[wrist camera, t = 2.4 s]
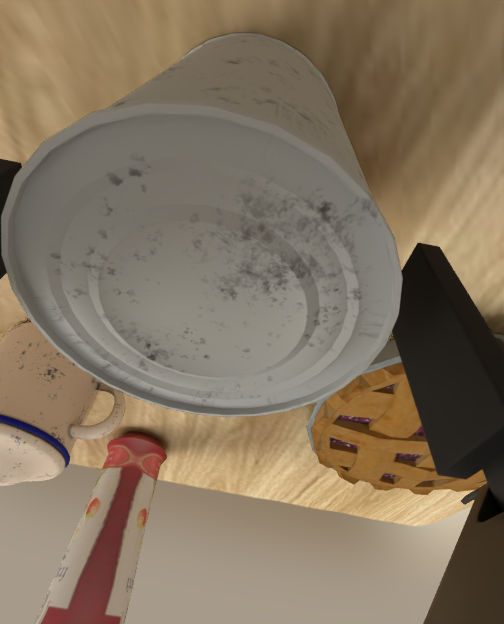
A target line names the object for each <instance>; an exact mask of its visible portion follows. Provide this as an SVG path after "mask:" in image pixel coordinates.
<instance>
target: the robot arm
mask: <svg viewBox="0 0 504 624" xmlns="http://www.w3.org/2000/svg"><path fill="white" fill-rule="evenodd" d="M21 168H22V165H21V163H18V162H13V161H8V160H3V159H0V279H1V278H2V277H3V276H4V275H5V274H6V273H7V271H6V267H5V264H4V261H3V258H2V250H1V216H2V212H3V209H4V207H5V204H6V201H7V198H8V195H9V192H10V189H11V186H12V183H13V180H14V177H15V175H16V174H17V173H18V172H19V171H20V169H21ZM401 272H402V277H403V280H402V289H401V299H400V308H399V315H398V317H397V320H396V322H395V324H394V327H393V329H392V332H393V336H394V339H395V342H396V345H397V348H398V351H399V354H400V358H401V361H402V364H403V367H404V370H405V373H406V377H407V380H408V383H409V386H410V389H411V392H412V396H413V399H414V402H415V405H416V408H417V411H418V415H419V418H420V421H421V424H422V427H423V430H424V434H425V437H426V440H427V443H428V446H429V449H430V453H431V456H432V459H433V462H434V465H435V468H436V471H437V475H439V476H446V477H452V478H459V479H465V480H467V479H468V478H470V477H471V476H473V475H474V474H476V473H477V472H479V471H480V470H483V472H484V475H485V477H486V480H487V482H488V483H486V484H484V485H483V486H481V487H479V488H478V489H476V490H474V491H473V492H471V493H470V494H468V495H466V496H465V497H464V498H463V499H462V500H461V502H462V503H463V504H467V503H469V502H470V501H472V500H475V501H474V503H473V506H472V508H471V510H470V513H469V515H468V518H467V520H466V522H465V525H464V527H463V530H462V532H461V535H460V537H459V539H458V542H457V544H456V546H455V549H454V551H453V554H452V556H451V559H450V561H449V564H448V566H447V568H446V571H445V573H444V576H443V578H442V580H441V583H440V585H439V587H438V590H437V593H436V595H435V597H434V599H433V602H432V604H431V607H430V609H429V611H428V614H427V617H426V619H425V621H424V624H504V341H503V340H502V339H500V338H496V337H494V335H493V333H492V332H491V330H490V328H489V327H488V325H487V324H486V322H485V320H484V319H483V317H482V315H481V314H480V312H479V311H478V309H477V307H476V306H475V304H474V302H473V301H472V299H471V297H470V296H469V294H468V293H467V291H466V289H465V288H464V286H463V284H462V283H461V281H460V280H459V278H458V276H457V275H456V273H455V271H454V270H453V268H452V266H451V265H450V263H449V262H448V260H447V258H446V257H445V255H444V253H443V252H442V250H441V249H440V247H438V246H433V245H428V244H423V243H418V244H417V245H416V247H415V249H414V250H413V252H412V254H411V256H410V257H409V259H408V261H407V262H406V264H405V266H404V268H403V269H402V271H401Z"/></svg>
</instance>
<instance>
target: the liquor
mask: <svg viewBox="0 0 504 624" xmlns="http://www.w3.org/2000/svg"><path fill="white" fill-rule="evenodd" d="M107 447H108V456H107V458H106V461H105V463H104V466H103V468H102V471H101V473H100V475H99V478H98V480H97V483H96V485H95V487H94V490H93V492H92V495H91V497H90V499H89V501H88V504H87V506H86V508H85V511H84V513H83V515H82V517H81V520H80V522H79V524H78V527H77V529H76V531H75V533H74V536H73V538H72V540H71V542H70V545H69V547H68V549H67V551H66V553H65V555H64V558H63V560H62V562H61V564H60V566H59V569H58V571H57V573H56V575H55V577H54V579H53V581H52V584H51V586H50V588H49V591H48V593H47V595H46V598H45V600H44V602H43V605H42V607H41V609H40V612H39V614H38V616H37V619H36V621H35V623H34V624H124V622H125V618H126V614H127V610H128V605H129V601H130V596H131V592H132V588H133V583H134V578H135V573H136V569H137V564H138V559H139V554H140V549H141V545H142V540H143V536H144V531H145V527H146V523H147V518H148V514H149V510H150V506H151V501H152V497H153V493H154V490H155V485H156V481H157V477H158V473H159V469H160V465H161V464H162V463H163V462H164V461H165V460H166V458H167V454H166V453H165V451H164V450H163V448H162V446H161V445H160V443H159V442H158V441H157V440H156V439H155V438H154V437H152V436H150V435H147V434H143V433H138V432H130V433H126V434H124V435H122V436H120V437H118V438H115V439H113V440H111V441H110V442H109V443H108V446H107Z"/></svg>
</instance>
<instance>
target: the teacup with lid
mask: <svg viewBox="0 0 504 624" xmlns="http://www.w3.org/2000/svg"><path fill="white" fill-rule="evenodd" d="M99 390H101V391H106V392H109V393H111V394H113V395H114V397H115V403H114V407H113V410H112V412H111V414H110V415H109V417H108V418H107V419H105V420H104V421H102V422H100V423H98V424H96V425H91V426H83V424H84V422H85V420H86V418H87V416H88V414H89V412H90V409H91V407H92V405H93V403H94V401H95V399H96V397H97V395H98V392H99ZM124 412H125V398H124V395H123V392H121V391H119V390H116V389H114V388H112V387H110V386H108V385H106V384H104V383H103V382H101V381H100V380H98V379H96V378H95V377H93V376H91V375H90V374H88V373H87V372H85V371H83V370H82V369H80V368H79V367H77V366H76V365H75V364H74V363H73V362H71V361H70V360H69V359H68V358H67V357H65V356H64V355H63V354H62V353H61V352H59V351H58V350H57V349H56V348H55V347H53V346H52V344H51V343H50V342H49V341H48V340H47V339H46V338H45V336H44V335H43V334H42V333H41V332H40V331H39V330H38V328H37V327H36V326H35V325H34V324H33V323H32V322H28V323H23V324H20V325H17V326H15V327H14V328H12V329H11V330H10V331H9V332H8V333H7V334H6V335H5V337H4V338H3V339H2V340H1V342H0V485H12V484H17V483H20V482H23V481H42V480H48V479H51V478H54V477H56V476H57V475H59V474H60V473H61V472H62V471H63V470H64V469H65V468H66V467H67V465H68V464H69V461H70V455H69V454H70V452H71V450H72V448H73V445H74V443H75V441H76V439H86V440H90V439H97V438H101V437H103V436H105V435H107V434H109V433H110V432H112V431H113V430H114V429H115V428H116V427H117V426H118V425H119V424H120V422H121V420H122V418H123V415H124Z"/></svg>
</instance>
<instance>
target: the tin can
mask: <svg viewBox="0 0 504 624" xmlns="http://www.w3.org/2000/svg"><path fill="white" fill-rule="evenodd" d="M1 250H2V258H3V261H4V264H5V267H6V271H7V274H8V277H9V281H10V284H11V287H12V290H13V292H14V293H15V295H16V297H17V298H18V300H19V302H20V304H21V305H22V307H23V309H24V310H25V312H26V314H27V316H28V317H29V319H30V320H31V322H32V323H33V324H34V325H35V326H36V327H37V328H38V330H39V331H40V332H41V333H42V334H43V335H44V336H45V338H46V339H47V340H48V341H49V342H50V343H51V344H52V346H53V347H55V348H56V349H57V350H58V351H59V352H61V353H62V354H63V355H64V356H65V357H67V358H68V359H69V360H70V361H71V362H73V363H74V364H75V365H76V366H77V367H79V368H80V369H82V370H83V371H85V372H87V373H88V374H90V375H91V376H93V377H95V378H96V379H98V380H100V381H101V382H103V383H104V384H106V385H108V386H110V387H112V388H114V389H116V390H119V391H121V392H123V393H125V394H127V395H130V396H132V397H134V398H136V399H139V400H142V401H145V402H148V403H151V404H154V405H158V406H161V407H164V408H167V409H172V410H177V411H182V412H187V413H192V414H197V415H208V416H220V417H244V416H261V415H267V414H273V413H279V412H284V411H289V410H292V409H295V408H298V407H302V406H305V405H308V404H311V403H314V402H317V401H319V400H321V399H323V398H324V397H326V396H328V395H330V394H332V393H334V392H336V391H338V390H340V389H342V388H343V387H345V386H346V385H347V384H349V383H350V382H351V381H352V380H354V379H355V378H356V377H357V376H359V375H360V374H361V373H362V372H364V371H365V370H366V369H367V368H368V367H369V365H370V364H371V363H372V362H373V360H374V359H375V358H376V357H377V355H378V354H379V353H380V352H381V350H382V349H383V348H384V347H385V345H386V343H387V341H388V338H389V336H390V334H391V331H392V329H393V327H394V324H395V322H396V320H397V317H398V315H399V308H400V299H401V289H402V280H403V277H402V272H401V267H400V262H399V257H398V252H397V247H396V242H395V238H394V235H393V233H392V231H391V229H390V228H389V226H388V224H387V222H386V220H385V218H384V217H383V215H382V213H381V211H380V209H379V207H378V206H377V204H376V202H375V200H374V198H373V196H372V195H371V192H370V190H369V187H368V185H367V183H366V180H365V178H364V175H363V173H362V170H361V168H360V165H359V163H358V160H357V158H356V155H355V153H354V150H353V148H352V146H351V143H350V141H349V138H348V136H347V133H346V131H345V128H344V126H343V123H342V121H341V118H340V116H339V112H338V108H337V105H336V101H335V98H334V96H333V94H332V92H331V90H330V88H329V86H328V84H327V82H326V81H325V79H324V77H323V75H322V74H321V73H320V72H319V71H318V70H317V68H316V67H315V66H314V65H313V64H312V63H311V62H310V60H309V59H308V58H307V57H306V56H305V55H303V54H302V53H300V52H299V51H297V50H296V49H294V48H293V47H291V46H290V45H288V44H287V43H285V42H283V41H280V40H277V39H274V38H271V37H268V36H265V35H262V34H252V33H232V34H228V35H224V36H220V37H217V38H213V39H209V40H208V41H206V42H204V43H203V44H201V45H199V46H198V47H196V48H194V49H193V50H191V51H189V52H188V53H187V54H186V55H185V56H184V57H183V58H182V59H181V60H180V61H179V62H177V63H176V64H174V65H173V66H171V67H170V68H168V69H166V70H165V71H163V72H162V73H160V74H159V75H157V76H156V77H154V78H153V79H151V80H149V81H148V82H146V83H145V84H143V85H142V86H140V87H139V88H137V89H136V90H134V91H132V92H131V93H129V94H128V95H126V96H125V97H123V98H122V99H120V100H119V101H117V102H116V103H114V104H112V105H111V106H109V107H108V108H106V109H103V110H99V111H95V112H92V113H90V114H88V115H87V116H85V117H83V118H82V119H80V120H78V121H77V122H75V123H73V124H72V125H70V126H68V127H66V128H65V129H63V130H61V131H60V132H58V133H56V134H55V135H53V136H51V137H50V138H48V139H46V140H45V141H43V143H42V144H41V145H40V146H39V147H38V149H37V150H36V151H35V152H34V154H33V155H32V156H31V157H30V158H29V160H28V161H27V162H26V163H25V164H24V166H23V167H22V168H21V169H20V171H19V172H18V173H17V174H16V175H15V177H14V180H13V183H12V186H11V189H10V192H9V195H8V198H7V201H6V204H5V207H4V209H3V212H2V216H1Z"/></svg>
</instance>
